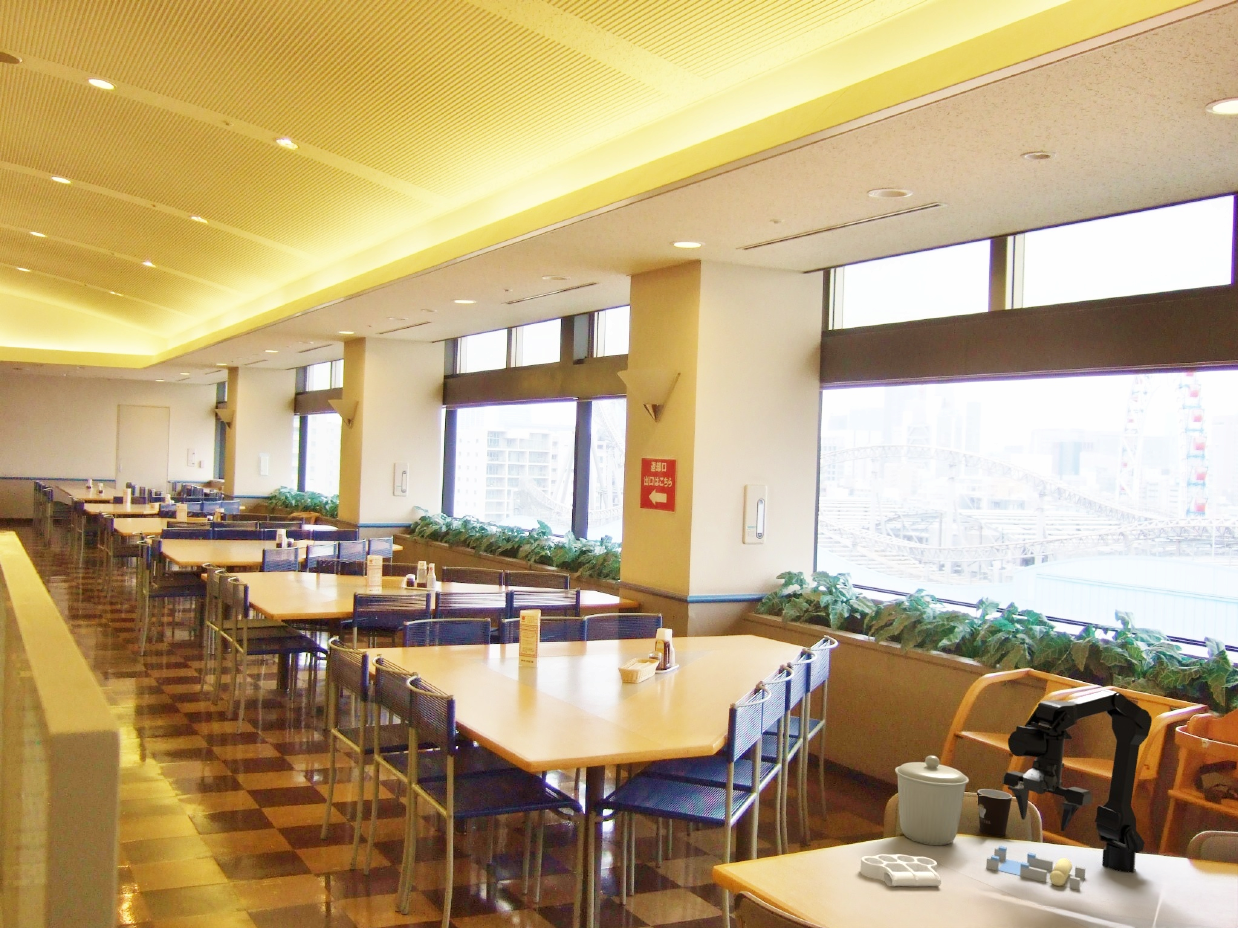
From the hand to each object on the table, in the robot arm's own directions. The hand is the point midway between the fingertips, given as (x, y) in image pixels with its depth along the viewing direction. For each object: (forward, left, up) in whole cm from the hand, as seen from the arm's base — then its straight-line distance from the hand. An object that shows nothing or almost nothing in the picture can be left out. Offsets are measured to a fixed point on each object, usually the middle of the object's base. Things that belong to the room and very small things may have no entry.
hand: (1042, 824), depth 240 cm
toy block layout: (+1, -1, -13) cm, 13 cm away
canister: (+29, -12, -13) cm, 34 cm away
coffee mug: (+17, -32, -13) cm, 39 cm away
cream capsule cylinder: (-4, -1, -12) cm, 12 cm away
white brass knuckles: (+26, +20, -13) cm, 36 cm away
